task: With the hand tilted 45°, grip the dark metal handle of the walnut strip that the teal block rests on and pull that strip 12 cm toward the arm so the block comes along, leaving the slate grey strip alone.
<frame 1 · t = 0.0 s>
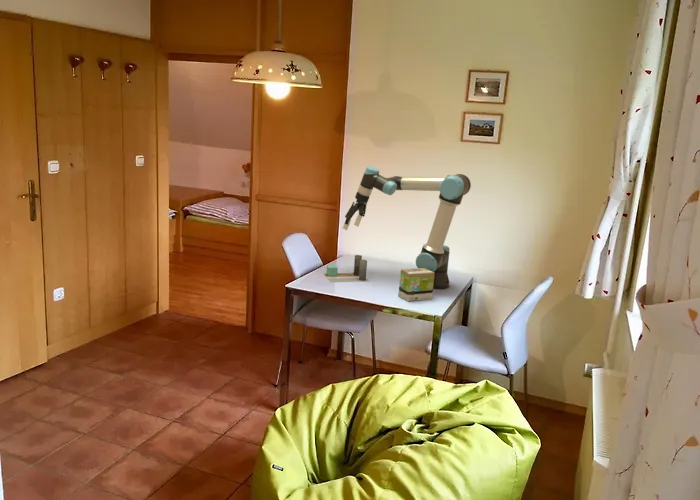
hand: (350, 227, 348), 28 cm above the table, tool tilted 20°, fingers open, 13 cm apart
teal block: (331, 275, 347), point 1 cm above the table, touching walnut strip
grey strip: (349, 271, 339), point 6 cm above the table, slide at 0.0 cm
tea box: (415, 298, 320), on the table
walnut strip: (344, 266, 348), point 6 cm above the table, slide at 0.0 cm, touching teal block
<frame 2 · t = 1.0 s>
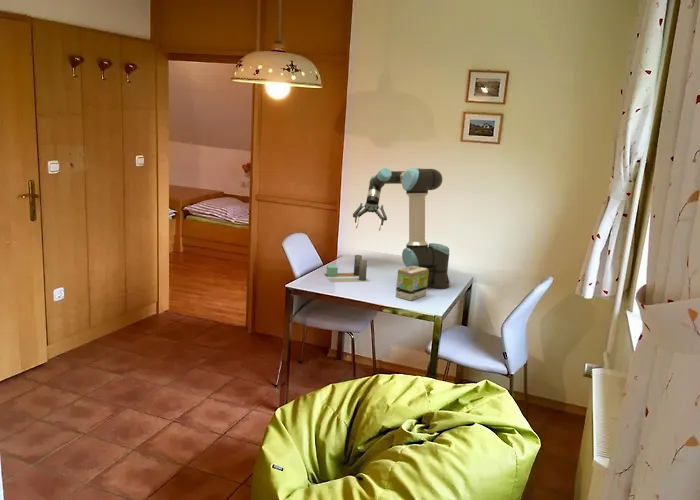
hand: (367, 228, 358), 26 cm above the table, tool tilted 45°, fingers open, 13 cm apart
tea box: (411, 296, 322), on the table
everything else where it was.
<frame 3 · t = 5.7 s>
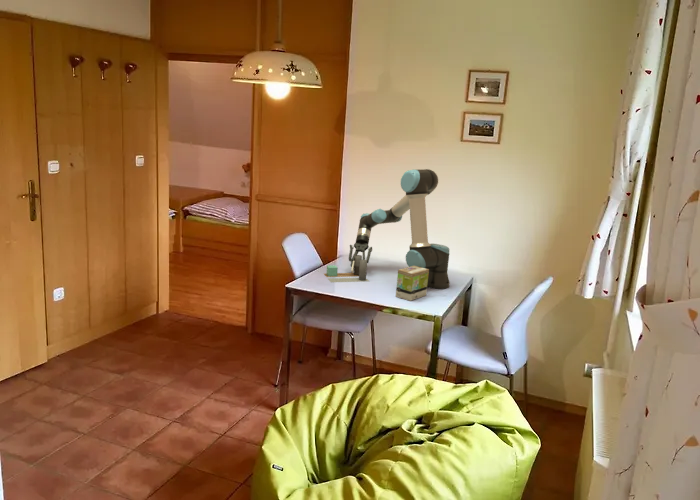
hand: (356, 272, 347), 4 cm above the table, tool tilted 45°, fingers closed on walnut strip, 4 cm apart
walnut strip: (344, 266, 348), point 6 cm above the table, slide at 0.0 cm, touching gripper, teal block
everything else where it was.
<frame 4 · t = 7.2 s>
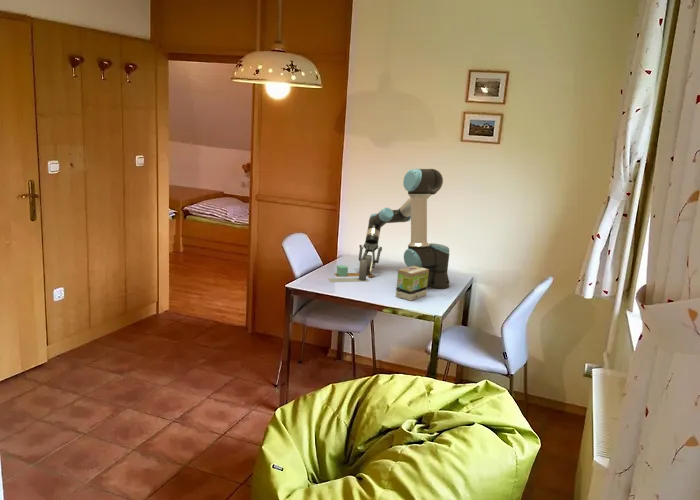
hand: (366, 271, 349), 4 cm above the table, tool tilted 45°, fingers closed on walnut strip, 4 cm apart
teal block: (342, 274, 349), point 1 cm above the table, touching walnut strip
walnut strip: (354, 266, 350), point 6 cm above the table, slide at 6.0 cm, touching gripper, teal block
everything else where it was.
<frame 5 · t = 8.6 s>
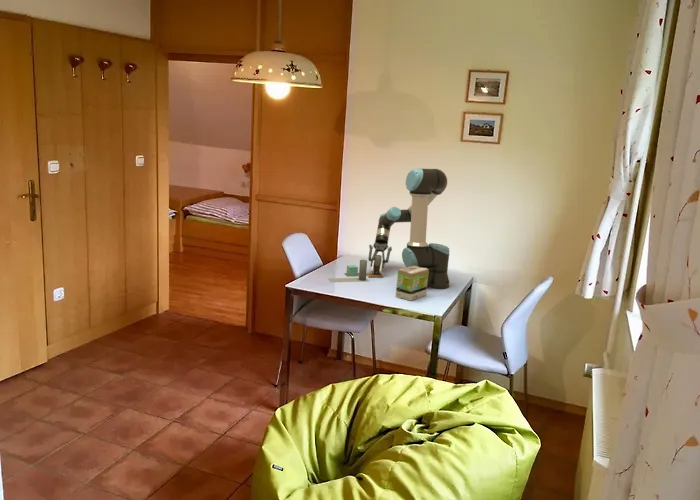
hand: (376, 271, 351), 4 cm above the table, tool tilted 45°, fingers closed on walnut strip, 4 cm apart
teal block: (351, 274, 351), point 1 cm above the table, touching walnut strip
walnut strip: (364, 266, 351), point 6 cm above the table, slide at 11.9 cm, touching gripper, teal block
everything else where it was.
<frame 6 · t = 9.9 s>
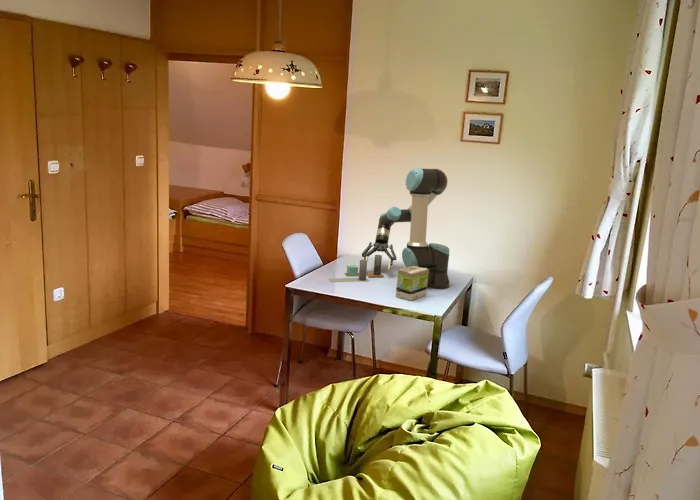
hand: (376, 268, 352), 5 cm above the table, tool tilted 45°, fingers open, 13 cm apart
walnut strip: (364, 266, 351), point 6 cm above the table, slide at 12.0 cm, touching teal block
everything else where it was.
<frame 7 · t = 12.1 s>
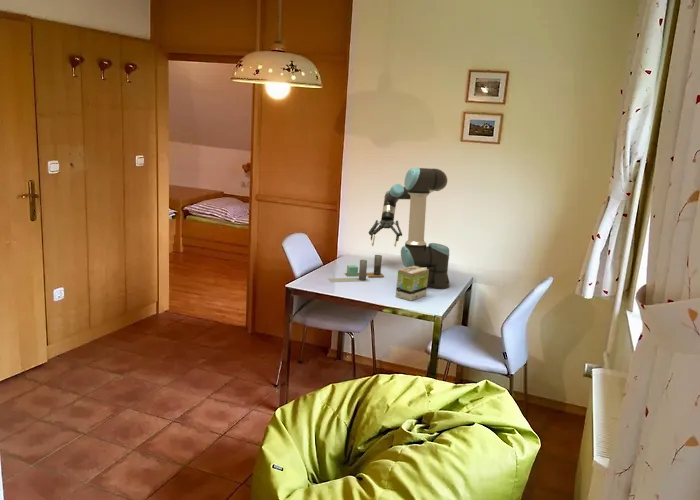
hand: (383, 245, 363), 16 cm above the table, tool tilted 40°, fingers open, 13 cm apart
nothing on the table moved.
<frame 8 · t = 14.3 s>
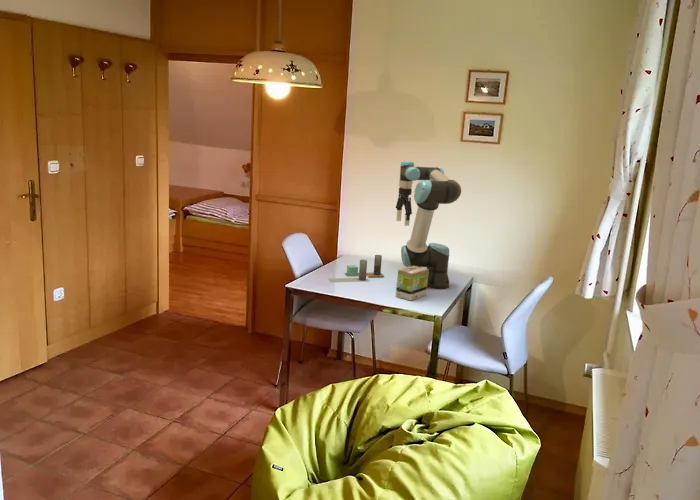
hand: (402, 223, 365), 29 cm above the table, tool pointing down, fingers open, 13 cm apart
nothing on the table moved.
at the end: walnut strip slide at 12.0 cm; teal block inside the target area (0.5 cm from its centre), point 1.2 cm above the table; teal block tilted 0° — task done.
